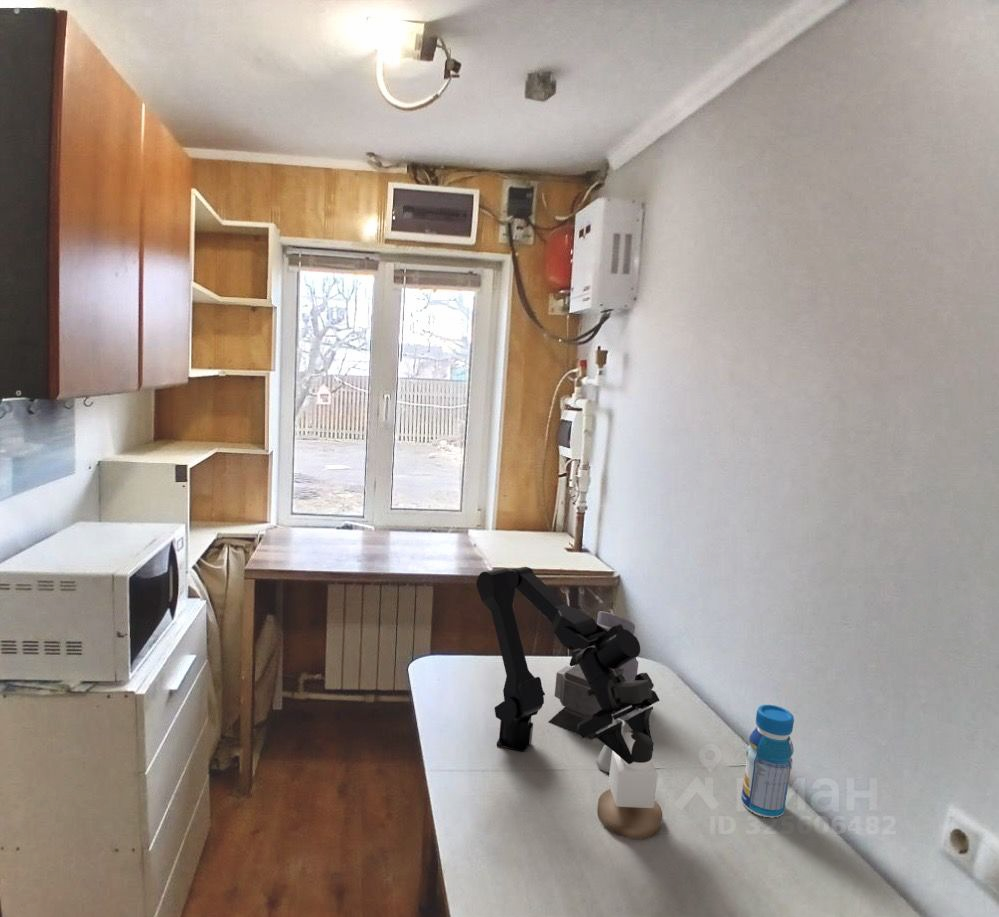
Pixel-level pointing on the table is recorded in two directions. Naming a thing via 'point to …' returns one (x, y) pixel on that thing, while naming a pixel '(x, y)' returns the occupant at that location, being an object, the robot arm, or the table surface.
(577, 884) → the table surface
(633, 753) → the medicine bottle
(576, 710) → the juicer
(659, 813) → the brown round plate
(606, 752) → the flask
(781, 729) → the beverage bottle
